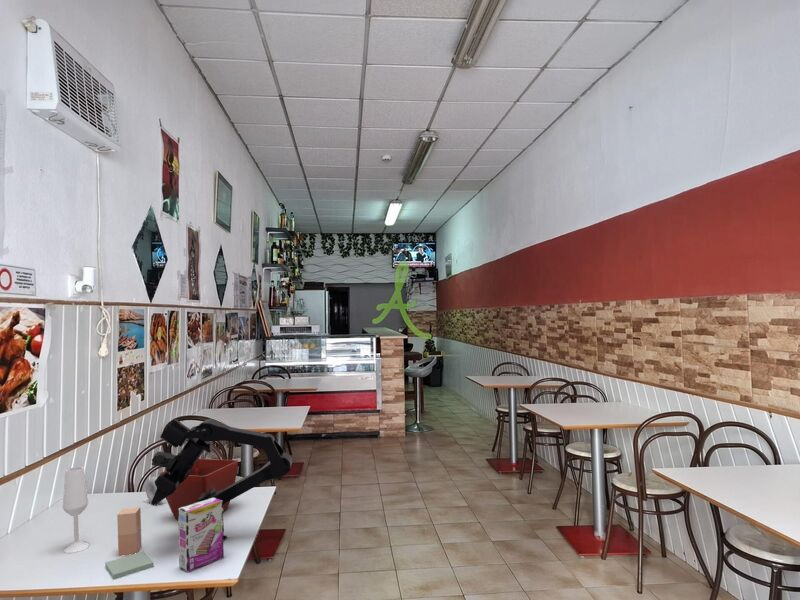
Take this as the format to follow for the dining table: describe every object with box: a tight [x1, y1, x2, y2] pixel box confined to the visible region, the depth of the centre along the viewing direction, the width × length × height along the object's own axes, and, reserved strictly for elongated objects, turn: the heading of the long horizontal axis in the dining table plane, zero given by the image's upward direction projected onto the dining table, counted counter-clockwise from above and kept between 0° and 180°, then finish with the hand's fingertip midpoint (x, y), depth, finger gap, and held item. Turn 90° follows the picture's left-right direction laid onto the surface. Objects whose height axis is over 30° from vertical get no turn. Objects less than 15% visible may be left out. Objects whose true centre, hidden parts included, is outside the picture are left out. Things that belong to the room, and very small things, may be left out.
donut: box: [145, 476, 162, 505], centre depth 201 cm, size 10×4×10 cm, turn 53°
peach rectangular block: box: [116, 506, 143, 557], centre depth 159 cm, size 5×5×12 cm
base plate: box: [104, 551, 155, 580], centre depth 148 cm, size 10×10×1 cm
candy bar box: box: [178, 498, 224, 573], centre depth 149 cm, size 11×5×16 cm, turn 141°
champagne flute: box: [62, 466, 90, 554], centre depth 163 cm, size 7×7×24 cm
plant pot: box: [159, 458, 239, 521], centre depth 187 cm, size 19×19×17 cm
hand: (157, 499), depth 162 cm, fingers open, 9 cm apart
